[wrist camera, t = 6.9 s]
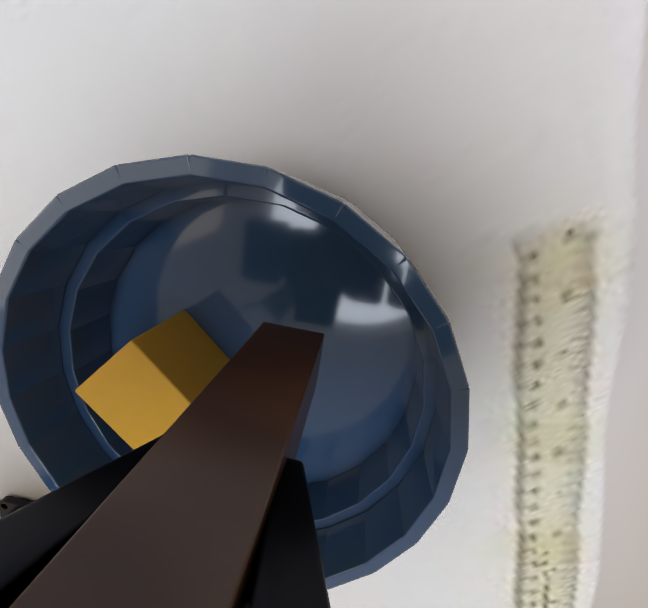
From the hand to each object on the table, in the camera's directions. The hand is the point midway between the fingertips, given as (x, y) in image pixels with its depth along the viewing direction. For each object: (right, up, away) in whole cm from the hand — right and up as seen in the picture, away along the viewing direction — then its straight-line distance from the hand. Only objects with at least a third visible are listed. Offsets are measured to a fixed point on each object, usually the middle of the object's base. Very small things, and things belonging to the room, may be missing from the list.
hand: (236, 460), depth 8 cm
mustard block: (-5, +1, +10) cm, 11 cm away
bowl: (-1, +1, +10) cm, 10 cm away
